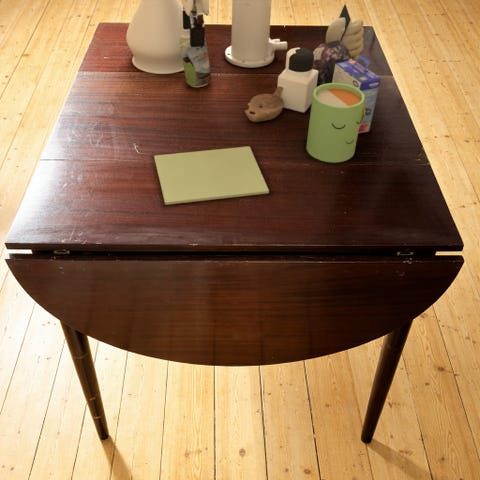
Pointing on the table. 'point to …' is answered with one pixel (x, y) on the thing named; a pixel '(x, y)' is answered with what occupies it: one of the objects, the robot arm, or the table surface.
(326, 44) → the mineral specimen
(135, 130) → the table surface
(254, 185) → the mat
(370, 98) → the ink cartridge box
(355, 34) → the decorative object
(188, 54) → the beverage can
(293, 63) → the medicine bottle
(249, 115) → the oil lamp
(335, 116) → the mug
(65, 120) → the table surface
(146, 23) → the vase
